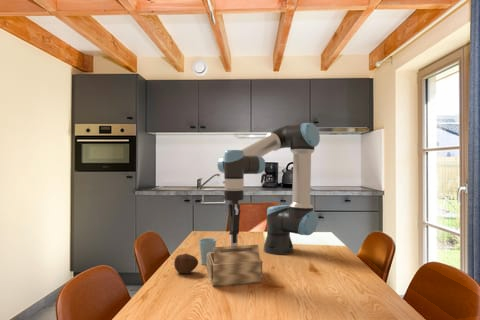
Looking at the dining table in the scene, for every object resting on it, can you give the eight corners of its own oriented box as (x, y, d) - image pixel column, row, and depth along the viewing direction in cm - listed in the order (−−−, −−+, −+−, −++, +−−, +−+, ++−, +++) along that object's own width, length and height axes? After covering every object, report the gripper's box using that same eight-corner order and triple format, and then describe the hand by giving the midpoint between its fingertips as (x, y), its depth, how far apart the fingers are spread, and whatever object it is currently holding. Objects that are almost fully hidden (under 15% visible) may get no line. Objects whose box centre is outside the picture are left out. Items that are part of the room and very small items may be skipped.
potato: (176, 270, 132) (176, 251, 132) (199, 270, 131) (199, 251, 132) (172, 276, 124) (172, 256, 124) (196, 276, 124) (196, 256, 124)
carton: (251, 268, 133) (251, 249, 134) (262, 282, 117) (262, 261, 117) (206, 271, 129) (206, 252, 130) (210, 287, 113) (210, 265, 113)
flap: (259, 261, 117) (257, 245, 120) (260, 260, 116) (257, 244, 119) (214, 264, 113) (213, 247, 116) (214, 263, 113) (213, 247, 116)
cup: (218, 264, 139) (218, 241, 139) (202, 267, 136) (201, 242, 136) (213, 259, 146) (212, 237, 146) (197, 262, 143) (197, 239, 143)
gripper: (221, 188, 127) (221, 246, 126) (227, 191, 114) (227, 255, 114) (240, 188, 128) (240, 245, 128) (247, 190, 116) (247, 254, 115)
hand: (233, 250), depth 121 cm, fingers closed
